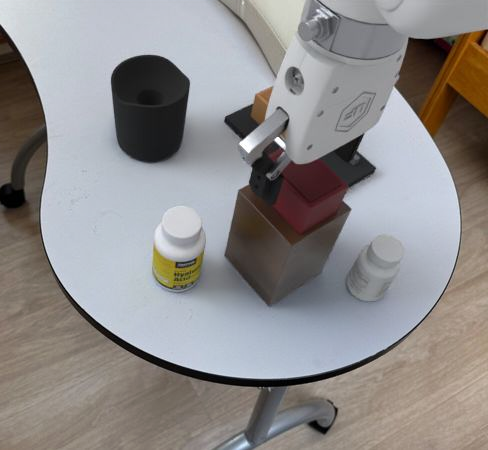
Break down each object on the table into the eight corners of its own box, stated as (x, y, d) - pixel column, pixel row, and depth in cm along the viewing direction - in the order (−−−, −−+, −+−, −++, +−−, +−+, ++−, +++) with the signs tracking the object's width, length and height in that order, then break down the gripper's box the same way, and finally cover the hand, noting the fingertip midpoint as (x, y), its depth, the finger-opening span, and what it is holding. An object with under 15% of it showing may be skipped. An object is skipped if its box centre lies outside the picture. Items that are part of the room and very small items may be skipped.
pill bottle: (384, 273, 68) (408, 234, 61) (384, 306, 65) (410, 269, 59) (346, 265, 68) (366, 226, 62) (344, 298, 65) (366, 260, 59)
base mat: (374, 173, 77) (379, 161, 75) (313, 209, 72) (317, 198, 71) (283, 93, 85) (287, 81, 83) (224, 121, 80) (226, 109, 79)
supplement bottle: (172, 302, 63) (176, 253, 56) (142, 268, 66) (142, 215, 58) (210, 276, 66) (219, 225, 58) (180, 244, 68) (185, 191, 60)
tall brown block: (321, 272, 67) (352, 208, 57) (268, 307, 64) (291, 246, 54) (276, 225, 71) (297, 157, 61) (223, 255, 67) (237, 189, 58)
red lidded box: (337, 212, 57) (350, 184, 54) (299, 235, 55) (310, 208, 52) (290, 166, 60) (299, 137, 57) (252, 186, 58) (259, 158, 55)
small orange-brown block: (311, 133, 79) (319, 110, 75) (284, 148, 77) (290, 125, 74) (278, 103, 82) (283, 79, 79) (250, 116, 80) (255, 92, 77)
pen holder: (188, 118, 80) (193, 59, 72) (181, 169, 75) (185, 111, 67) (120, 110, 80) (118, 50, 72) (108, 161, 75) (104, 102, 67)
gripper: (302, 89, 36) (255, 243, 50) (476, 5, 43) (393, 161, 57) (227, 24, 39) (203, 185, 53) (400, -45, 46) (339, 114, 60)
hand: (301, 172), depth 55 cm, fingers open, 9 cm apart
